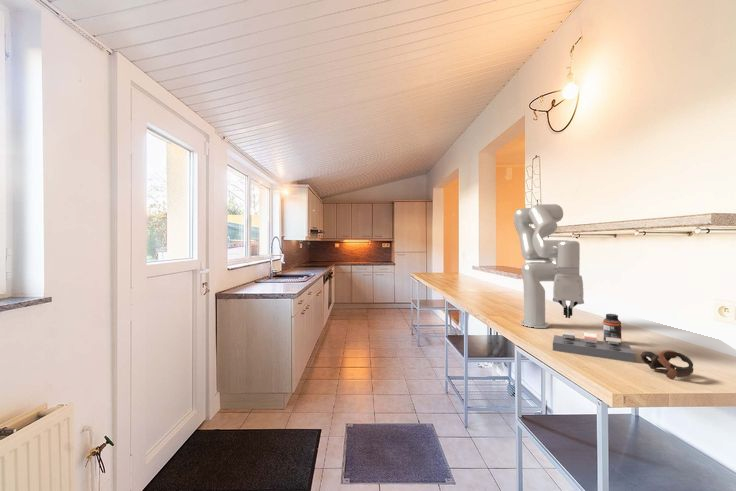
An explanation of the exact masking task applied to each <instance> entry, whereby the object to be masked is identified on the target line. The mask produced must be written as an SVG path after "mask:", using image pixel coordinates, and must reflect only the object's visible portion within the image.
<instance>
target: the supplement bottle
mask: <svg viewBox="0 0 736 491" xmlns="http://www.w3.org/2000/svg"><path fill="white" fill-rule="evenodd" d="M602 323H603V325H602V326H603V329H602V331H603V341H605V342H608V341H606V337H612V338H620V339H621V342H620V344H622V342H623V341H622V340H623V338H622V322H621V320H619V315H618V314H616V313H615V314H614V313H606V314H605V318H604V319H603V322H602Z"/></svg>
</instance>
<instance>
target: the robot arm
mask: <svg viewBox="0 0 736 491" xmlns="http://www.w3.org/2000/svg"><path fill="white" fill-rule="evenodd" d="M563 218H564V210H563V208H562V206H561V205H559V204H557V203H556V204H555V203H550V204H549V203H546V204H542V203H541V204H540V203H539V204H535V205H533V206H531V207H524V208H523V207H522V208H519V209H517V210H516V211H514V214H513V224H514V228H515V230H516V231H517V234H518V237H519V244H520V251H521V254H522V258H523V259H524V260H525V261H529V262H525V263H523V265H522V267H521V276H522V282H523V320H522V321H520V325H521V326H523V325H524V326H523V327H526V326H528V327H527V328H531V327H534V328H533V329H548V328H549V327H550V324H549V323H548V322H546V291H545V288H544V286H543V285H542V283H541V282H553V288H552V289H553V290H552V291H553V292H552V293H553V294H552V295H553V297H552V302H554V303H559V305H561V306H562V308H563V316H565V318H567V319H570V318H571V317H572V316H573V308H575V307H576V306H577V305H583V304H585V301H584V282H583V276H582V275H580V267H581V266H580V265H581V264H580V259H581V258H580V255H581V254H580V252H581V249H580V248H581V247H580V243H579V241H577V240H568V239H567V240H565V239H564V240H563V239H562V240H560V239H554V240H553V239H550V240H549V239H545V240H544V238H546V237H548V236H549V237H550V235H553V234H555V232H556V231H557V229H558V224H557V223H559V222H560V221H562V219H563ZM530 225H534V227H535V229H534V227H532V226H530ZM568 301H570V302H569V305H567V302H568Z"/></svg>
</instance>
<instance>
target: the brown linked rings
mask: <svg viewBox="0 0 736 491" xmlns="http://www.w3.org/2000/svg"><path fill="white" fill-rule="evenodd" d="M677 357H678V358H680V360H681V361H682V362H684V363H686V364H688V366H678V365H676V364H673V363H671V362H670V361H671V359H676V358H677ZM648 358H649V359H648ZM640 359H641V360H642V361H643V363H644V364H645V365H647V366H648V367H649V368H650V369H651V370H656V369H661V368H662V369H666V370H668V371H667V373H666V375H665V376H666V378H669V379H670V380H674V379H676V378H683V377H690V376H691V374H693V373H694V363H693V361H692V360H691V359H690V358H689V357H688V356H686V355H685V354H684V353H680V352H678V351H675V350H669V349H667V350H663V351H662V352H660V353H654V352H651V351H647V350H646V351H642V352H641V354H640Z"/></svg>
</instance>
